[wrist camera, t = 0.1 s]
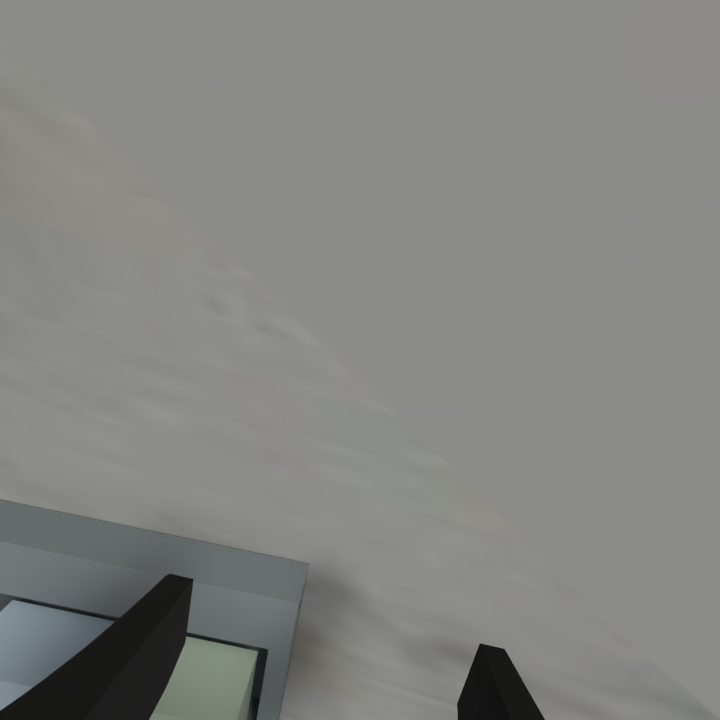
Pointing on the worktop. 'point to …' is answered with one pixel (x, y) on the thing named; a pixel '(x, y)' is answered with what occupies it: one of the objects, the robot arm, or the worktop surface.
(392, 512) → the worktop surface
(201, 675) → the tile one dot
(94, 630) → the tile two dots
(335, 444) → the worktop surface
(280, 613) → the board
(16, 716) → the robot arm
